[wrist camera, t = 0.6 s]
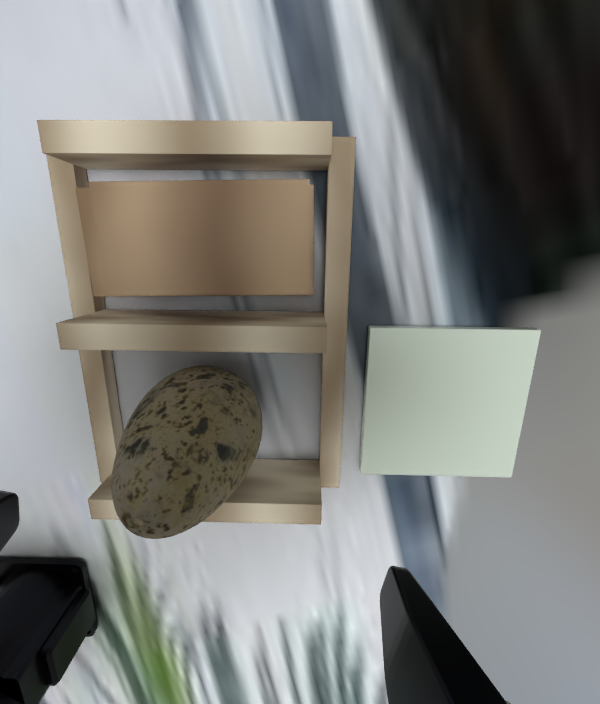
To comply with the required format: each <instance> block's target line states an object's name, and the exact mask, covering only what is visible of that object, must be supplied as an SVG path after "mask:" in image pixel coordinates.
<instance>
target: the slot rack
mask: <svg viewBox="0 0 600 704" xmlns="http://www.w3.org/2000/svg"><path fill="white" fill-rule="evenodd" d="M37 123H38V129H39V135H40V141H41V147H42V153H44V154H46V156H47V162H48V168H49V174H50V180H51V186H52V192H53V198H54V204H55V210H56V216H57V222H58V228H59V234H60V240H61V246H62V252H63V258H64V264H65V270H66V276H67V282H68V288H69V294H70V300H71V306H72V312H73V319H69V320H66V321H62V322H59V323H56V326H57V331H58V337H59V343H60V348H61V349H67V350H79V354H80V360H81V366H82V372H83V378H84V384H85V390H86V396H87V402H88V408H89V414H90V420H91V426H92V432H93V438H94V444H95V450H96V456H97V462H98V468H99V474H100V480H101V482H102V484H101V485H100V486H99V488H98V489H97V490H96V491H95V492H94V493H93V494H92V495H91V497H90V498H89V499H88V503H89V508H90V514H91V519H114V520H120V519H119V517H118V516H117V513H116V511H115V508H114V504H113V499H112V489H111V482H112V471H113V465H114V460H115V457H116V453H117V449H118V446H119V442H120V440H121V437H122V435H123V430H122V422H121V415H120V408H119V401H118V394H117V387H116V380H115V373H114V365H113V358H112V351H111V350H131V351H195V352H259V353H322V379H321V414H320V449H319V460H284V459H254V462H253V464H252V466H251V468H250V469H249V471H248V473H247V474H246V476H245V478H244V479H243V480H242V482H241V483H240V485H239V486H238V487H237V488H236V490H235V491H234V492H233V493H232V494H231V495H230V497H229V498H228V499H227V500H226V501H225V502H224V503H223V504H222V505H221V506H220V507H219V508H218V509H217V510H216V511H215V512H213V513H212V514H211V515H210V516H209V517H207V518H206V519H205V520H203V521H202V522H239V523H281V524H321V510H322V502H321V487H328V488H339V483H340V462H341V441H342V420H343V399H344V378H345V356H346V335H347V314H348V293H349V272H350V251H351V230H352V209H353V188H354V167H355V146H356V137H332V121H143V120H37ZM86 169H145V170H291V171H327V204H326V239H325V274H324V309H323V312H279V311H206V310H133V309H106V308H105V301H104V296H93V290H92V284H91V278H90V272H89V267H88V261H87V255H86V249H85V243H84V237H83V232H82V226H81V220H80V214H79V208H78V202H77V197H76V191H75V188H84V187H88V180H87V173H86Z"/></svg>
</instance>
